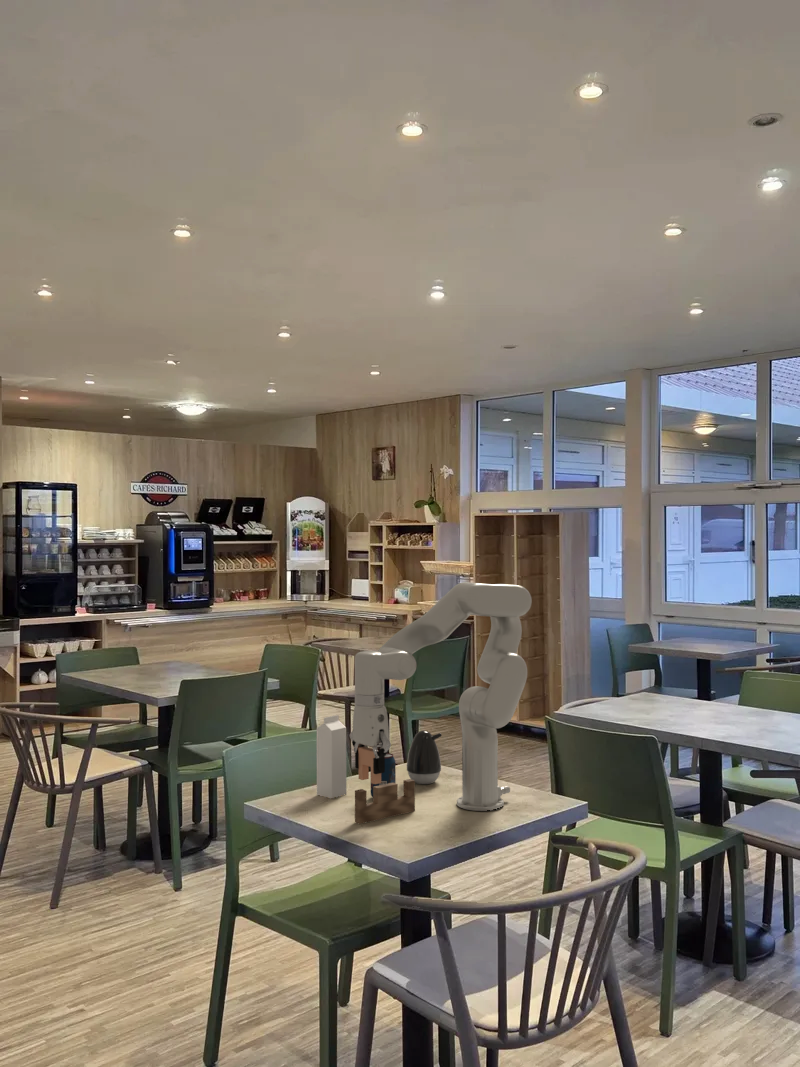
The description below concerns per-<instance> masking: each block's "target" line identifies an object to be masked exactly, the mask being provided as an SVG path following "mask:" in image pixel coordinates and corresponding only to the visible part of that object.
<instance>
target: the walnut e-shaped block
mask: <svg viewBox="0 0 800 1067" xmlns="http://www.w3.org/2000/svg"><path fill="white" fill-rule="evenodd" d="M415 784H416V783H415V780H412V779H411V778H409V779H404V780H403V795H400V796H399V795H398V789H399V788H398V783H388V784H383V785H379V786H374V787H373V798H372V802H369V803H368V802H367V797H368V796H367V795H368V794H367V790H366V789H363V788H360V789H356V790H354V823H355V822H356V823H355V824H358V823H359V825H362V824H366V823H365V822H367V823H370V821H371V822H375V821H379V820H382V819H383V820H384V819H387V818H391V817H396V816H399V815H403V814H408V813H412V812H415V811H416V798H415V797H416V786H415ZM374 820H375V821H374ZM361 823H362V824H361Z"/></svg>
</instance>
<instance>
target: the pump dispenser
mask: <svg viewBox="0 0 800 1067" xmlns="http://www.w3.org/2000/svg"><path fill="white" fill-rule="evenodd" d="M441 737H443V736H442V733H440V732H439V733H436V734H433V735H432V733H431V732H430V731H428V730H420V731H418V732H417V733H416V734H415V735H414V737H413V739H412V741H411V744H410V747H409V750H408V753H407V761H406V771H407V774H408V776H409V779H412V780H415V784H417V785H430V784H433V783H434V782H436V781H437V780H438V779H439V776H440V775H441V774H440V773H441V771H442V762H441V756H440V752H439V751H440V750H439V747H438V745H437V742H436V740H438V739H440V738H441Z"/></svg>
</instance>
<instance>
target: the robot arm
mask: <svg viewBox="0 0 800 1067" xmlns="http://www.w3.org/2000/svg"><path fill="white" fill-rule="evenodd" d="M532 601H533V600H532V595H531V593H530V592H529V590H528V589H527V588H525V587H524V586H523V585H520V584H519V585H517V584H507V583H495V584H491V583H479V582H469V581H467V582H460V583H457V584H456V585H454V586H453V587H452V588H450V590H449V591H448V592H446V594H445V595H443V596H442V597H441V598H440V599H439V600H438V601H437V602H436V603H435V604H434V605H433V606H432V607H430V609H428V610H427V612H425V614H423V615H422V616H421V617H419V618H417V619H416V620H414V621H412V622H411V623H409V624H407V625H406V626H405V627H402V629H400V630H398V631H397V632H396V633H394V634H393V635H392V636H391V637H390V638H389V639H388V640H387V641H385V643H384V644H382V646H381V647H380V648H379V649H378V650H377V651H376V650H374V651H373V650H363V651H360V652H359V651H358V652H357V653H355V656H354V706H353V707H354V708H353V716H352V731H351V732H350V733H349V738H350V740H351V743H352V744H351V745H352V746H353V752H354V766H355V769H358V768H359V753H358V748H359V747H368V748H372V749H373V752H374V755H375V758H373V773H374V774H380V773H384V772H385V757H386V754H387V753H389V750H390V748H391V746H392V743H391V741H390V729H389V727H390V726H389V717H388V711H387V707H386V706H385V680H398V681H404V680H407V679H409V678H411V677H412V676H413V675H414V674H415V672H416V671H417V661H416V658H415V656H413V654H414V653H416V652H417V651H419V650H421V649H422V648H425V647H427V646H430V645H431V646H432V645H434V644H437V643H440V642H442V641H444V640H446V639H447V638H449V637H450V635H452V634H453V632H454V631H455V630H457V628H459V626H460V625H462V623H463V622H465V621H466V620H467V619H468V618H469V617H470V616H471V615H473V616H480V617H490V622H491V624H490V626H491V627H490V631H489V635H488V638H487V639H486V643H485V646H484V649H483V650H482V653H481V656H480V659H479V661H478V664H477V667H476V668H477V670H476V671H477V675H478V677H479V679H480V680H481V681H483V682H484V683H486V684H489V687H485V686H480V685H479V686H470V687H468V688H467V689H466V690H464V691H463V692H462V694H461V695H460V698H459V701H458V712H459V713H458V714H459V719H460V725H461V739H462V740H461V742H462V744H461V746H462V747H461V750H462V751H461V755H462V756H461V760H462V762H461V767H462V769H461V770H462V771H461V773H462V776H461V777H462V778H461V779H462V780H461V782H462V786H461V787H462V788H461V789H462V796H459V797H458V798H457V799H456V806H458V807H459V808H461V809H464V810H468V811H472V812H473V811H475V812H488V811H487V810H490V811H494V810H493V809H496V810H498V809H497V808H499V809H501V808H500V807H502V806H503V807H504V803H505V801H504V799H502V795H506V794H509V793H510V792H511V788H510V786H509V785H504V786H500V785H498V784H499V783H498V782H499V779H498V774H499V773H498V770H499V768H498V767H499V766H498V765H499V764H498V763H499V761H498V760H499V758H498V756H499V754H498V747H499V745H498V744H499V742H498V730H497V729H502V728H503V727H505V726H506V725H508V724H509V723H510V721H511V720H512V718H513V716H514V715H515V711H516V709H517V707H518V704H519V701H520V699H521V697H522V694H523V691H524V688H525V687H526V683H527V679H528V666H527V663H526V660H524V658H523V657H522V656H521V655H519V654H517V652H518V649H519V646H520V643H521V639H522V635H523V634H522V633H523V632H522V630H523V628H522V622H521V619H520V617H522V616H525V615H526V614H527V613H528V612H529V611H530V609H531V607H532V603H533V602H532ZM378 749H379V752H378ZM503 807H502V808H503Z"/></svg>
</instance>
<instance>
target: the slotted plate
mask: <svg viewBox="0 0 800 1067" xmlns="http://www.w3.org/2000/svg"><path fill="white" fill-rule="evenodd" d="M379 750H380V749H379ZM379 750H378V752H379ZM358 753H359V768H357V769H358V780H361V781H364V780H365V781H366V780H369V779H370V784H371V783H373V784H379V783H381V773H380V774H374V773H373V758H375V755H374V752H373V748H372V747H369V746H366V747H359V748H358ZM369 767H370V768H369ZM369 769H370V772H369ZM369 774H370V775H369Z"/></svg>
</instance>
